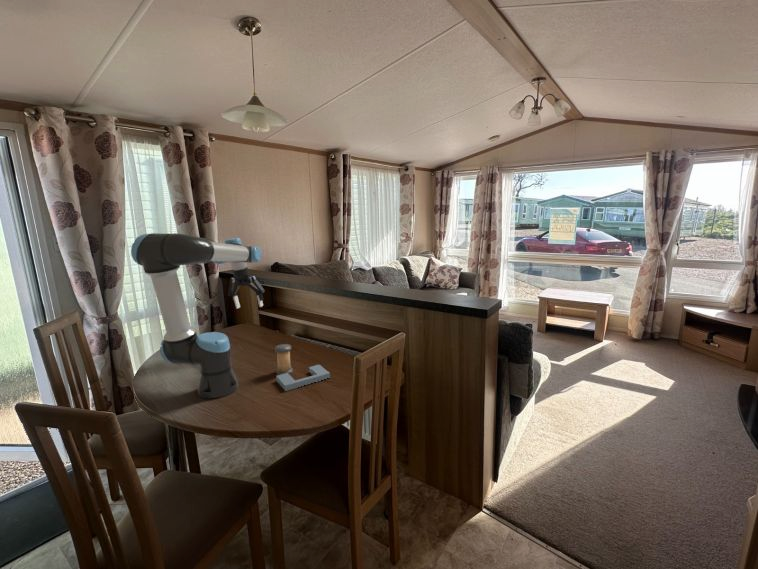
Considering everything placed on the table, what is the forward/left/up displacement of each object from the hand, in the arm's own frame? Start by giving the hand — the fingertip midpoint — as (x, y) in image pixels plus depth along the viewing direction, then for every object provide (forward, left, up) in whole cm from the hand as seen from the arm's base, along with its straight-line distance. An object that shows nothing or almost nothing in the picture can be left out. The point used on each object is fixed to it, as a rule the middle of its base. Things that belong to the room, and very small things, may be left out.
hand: (249, 307), depth 188 cm
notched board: (+7, -52, -23) cm, 57 cm away
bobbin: (+3, -39, -23) cm, 46 cm away
